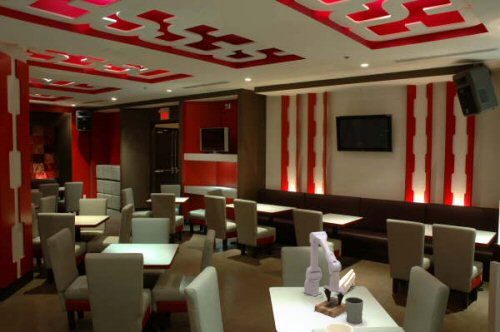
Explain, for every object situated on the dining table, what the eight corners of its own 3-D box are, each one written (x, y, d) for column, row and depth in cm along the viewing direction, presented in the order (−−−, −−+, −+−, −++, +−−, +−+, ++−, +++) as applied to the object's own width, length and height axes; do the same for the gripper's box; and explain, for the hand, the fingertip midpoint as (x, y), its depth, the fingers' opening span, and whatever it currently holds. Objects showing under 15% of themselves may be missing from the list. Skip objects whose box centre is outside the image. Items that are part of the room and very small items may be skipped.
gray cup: (365, 324, 233) (365, 303, 232) (348, 324, 232) (348, 303, 231) (359, 316, 243) (359, 296, 242) (342, 316, 242) (342, 296, 241)
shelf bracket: (357, 286, 293) (356, 270, 290) (342, 304, 273) (341, 287, 271) (350, 284, 296) (348, 268, 293) (334, 302, 277) (333, 285, 274)
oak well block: (314, 310, 251) (314, 305, 250) (329, 303, 262) (329, 298, 262) (334, 317, 241) (334, 312, 241) (348, 309, 252) (348, 304, 252)
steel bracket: (325, 310, 250) (325, 299, 250) (332, 306, 255) (332, 296, 255) (331, 312, 247) (331, 301, 247) (338, 308, 253) (338, 298, 252)
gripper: (320, 280, 254) (320, 301, 255) (341, 286, 244) (340, 308, 245) (327, 277, 259) (327, 298, 260) (347, 283, 249) (347, 305, 250)
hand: (334, 303), depth 253 cm, fingers open, 7 cm apart
